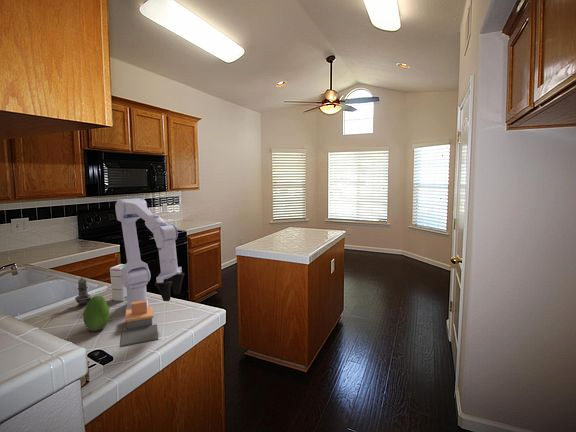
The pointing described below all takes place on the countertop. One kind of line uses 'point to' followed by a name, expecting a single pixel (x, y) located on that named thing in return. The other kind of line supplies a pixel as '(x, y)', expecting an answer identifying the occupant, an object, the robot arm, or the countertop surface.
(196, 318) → the countertop surface
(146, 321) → the box
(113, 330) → the countertop surface
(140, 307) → the lid
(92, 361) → the countertop surface
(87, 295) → the candlestick holder
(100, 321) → the avocado
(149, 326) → the mat
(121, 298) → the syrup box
